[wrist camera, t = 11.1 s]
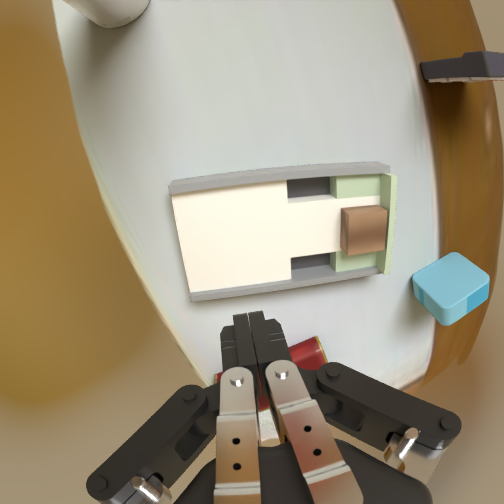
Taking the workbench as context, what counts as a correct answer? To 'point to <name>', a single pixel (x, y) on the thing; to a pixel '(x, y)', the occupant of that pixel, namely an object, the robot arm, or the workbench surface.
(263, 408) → the hardcover book
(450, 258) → the data package
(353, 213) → the walnut block
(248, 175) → the box
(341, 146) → the workbench surface
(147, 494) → the robot arm
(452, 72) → the grey white red block
